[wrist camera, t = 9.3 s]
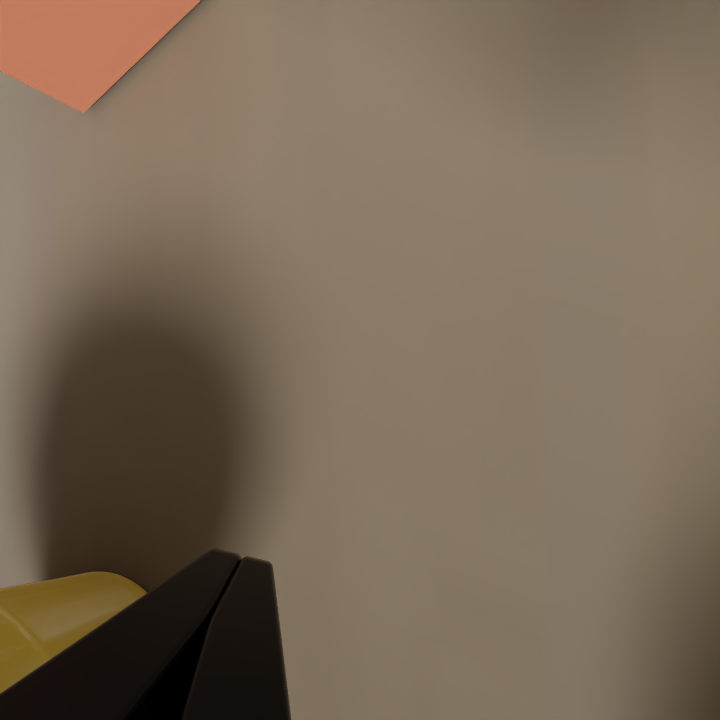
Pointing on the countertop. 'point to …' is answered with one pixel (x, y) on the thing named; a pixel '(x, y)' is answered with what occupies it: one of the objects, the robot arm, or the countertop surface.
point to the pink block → (81, 42)
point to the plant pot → (55, 617)
